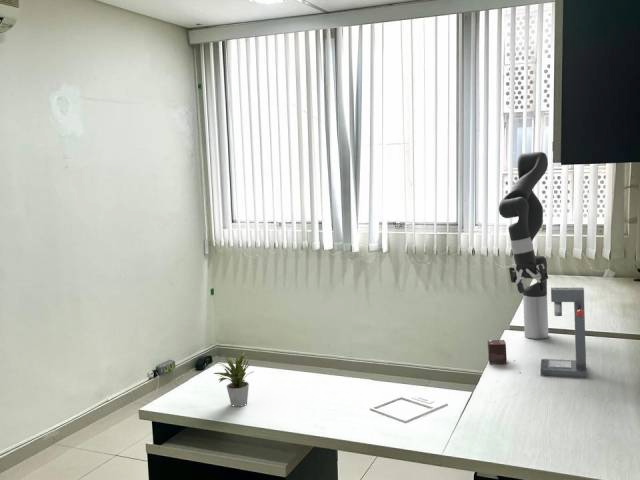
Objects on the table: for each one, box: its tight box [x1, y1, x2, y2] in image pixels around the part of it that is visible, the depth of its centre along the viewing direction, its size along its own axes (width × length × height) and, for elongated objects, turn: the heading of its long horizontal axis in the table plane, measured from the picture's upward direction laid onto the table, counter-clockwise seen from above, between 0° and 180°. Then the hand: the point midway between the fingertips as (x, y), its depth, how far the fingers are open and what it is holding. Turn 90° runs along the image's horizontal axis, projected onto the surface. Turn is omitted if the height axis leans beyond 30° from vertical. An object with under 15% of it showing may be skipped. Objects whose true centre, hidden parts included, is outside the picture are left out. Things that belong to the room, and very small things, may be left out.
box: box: [487, 339, 508, 365], centre depth 217 cm, size 6×6×7 cm
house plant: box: [213, 351, 253, 407], centre depth 193 cm, size 14×14×16 cm
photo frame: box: [369, 391, 448, 423], centre depth 180 cm, size 15×1×18 cm
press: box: [539, 287, 588, 379], centre depth 199 cm, size 17×14×28 cm
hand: (532, 292), depth 227 cm, fingers open, 8 cm apart
